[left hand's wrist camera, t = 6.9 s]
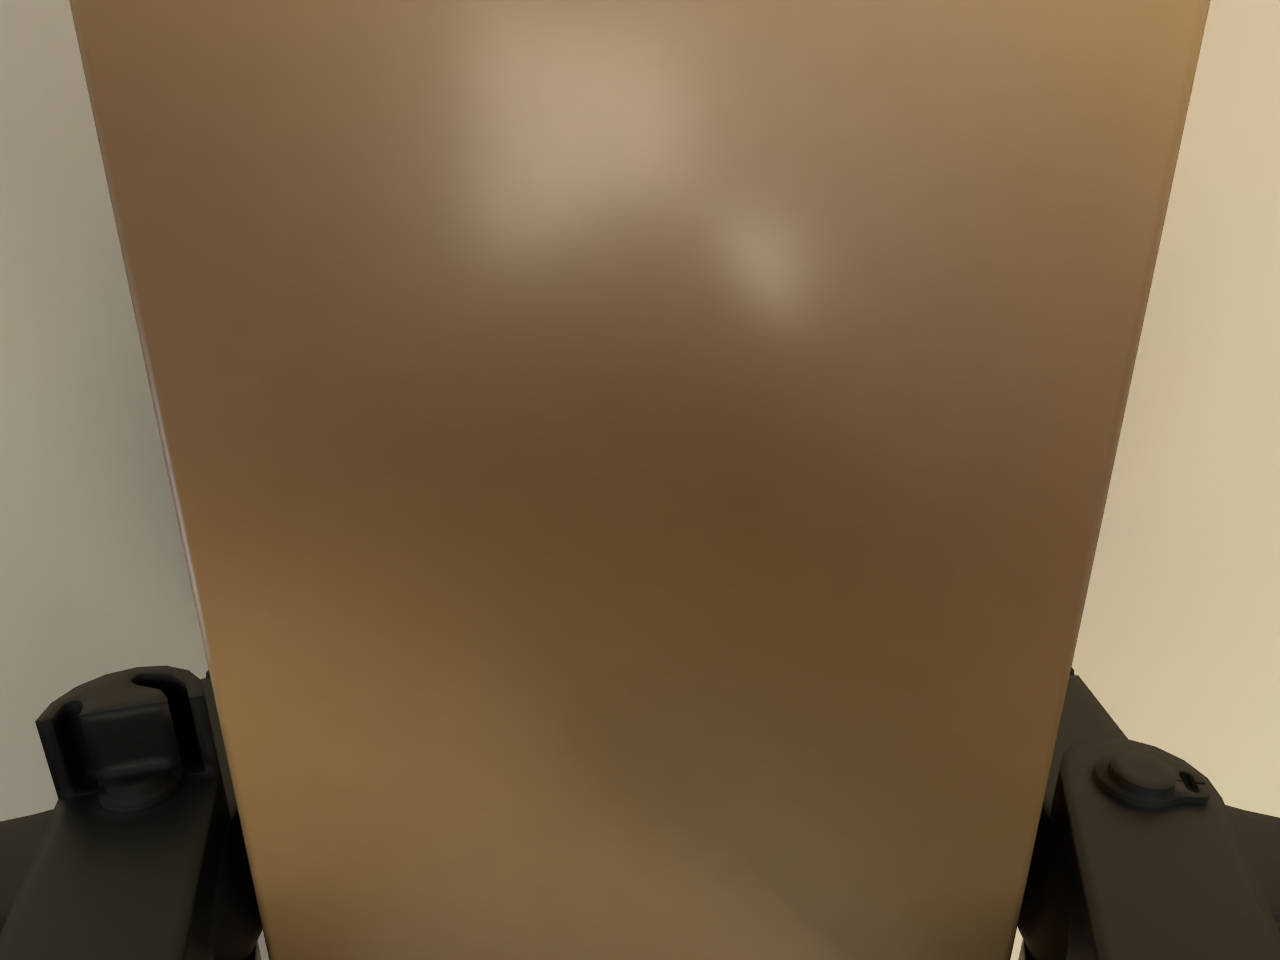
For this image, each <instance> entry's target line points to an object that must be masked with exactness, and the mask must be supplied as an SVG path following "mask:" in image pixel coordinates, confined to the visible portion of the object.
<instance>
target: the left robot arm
mask: <svg viewBox="0 0 1280 960" xmlns="http://www.w3.org/2000/svg"><path fill="white" fill-rule="evenodd" d="M35 723H36V726H37V729H38V732H39V736H40V739H41V742H42V746H43V749H44V752H45V756H46V759H47V762H48V766H49V769H50V772H51V776H52V779H53V782H54V786H55V789H56V792H57V796H58V801H57V804H56V806H55V808H54V809H53V810H49V811H45V812H42V813H38V814H34V815H29V816H25V817H20V818H15V819H11V820H6V821H1V822H0V960H261V955H260V950H259V946H258V941H257V940H258V938H259V936H260V934H261V932H262V930H263V927H262V923H261V918H260V913H259V908H258V903H257V899H256V894H255V889H254V884H253V879H252V875H251V870H250V865H249V860H248V855H247V851H246V846H245V841H244V836H243V831H242V827H241V822H240V817H239V812H238V807H237V803H236V798H235V793H234V788H233V783H232V779H231V774H230V769H229V764H228V759H227V755H226V750H225V745H224V740H223V735H222V731H221V726H220V721H219V716H218V711H217V707H216V702H215V697H214V692H213V687H212V682H211V678H210V673H209V670H208V671H207V673H206V679H201V680H200V679H199V678H198V677H196V676H195V675H194V674H193V673H191V672H190V671H189V670H184V669H179V668H174V667H170V666H151V667H136V668H132V669H127V670H123V671H119V672H115V673H110V674H106V675H104V676H101V677H99V678H96V679H94V680H92V681H89V682H87V683H84V684H82V685H79V686H77V687H75V688H73V689H72V690H70V691H69V692H67V693H66V694H64V695H63V696H61V697H60V698H58V699H57V700H55V701H54V702H52V703H51V704H50V705H49V706H48V707H47V708H46V710H45V711H44V712H43V713H42V714H41V715H40V717H39V718H38V719H37V720H36V721H35ZM1017 926H1018V928H1019V931H1020V933H1021V935H1022V937H1023V941H1022V946H1021V950H1020V955H1019V960H1280V818H1278V817H1274V816H1269V815H1264V814H1259V813H1255V812H1250V811H1245V810H1241V809H1238V808H1234V807H1231V806H1227V805H1225V804H1224V802H1223V800H1222V798H1221V796H1220V795H1219V793H1218V792H1217V791H1216V789H1215V788H1214V786H1213V785H1212V784H1211V782H1210V781H1209V780H1208V778H1207V777H1205V776H1204V775H1203V774H1201V773H1200V772H1199V771H1197V770H1196V769H1195V768H1193V767H1192V766H1191V765H1189V764H1188V763H1187V762H1186V761H1184V760H1182V759H1180V758H1178V757H1176V756H1174V755H1172V754H1170V753H1167V752H1165V751H1163V750H1161V749H1159V748H1157V747H1155V746H1151V745H1147V744H1143V743H1139V742H1136V741H1132V740H1128V739H1127V737H1126V736H1125V735H1124V733H1123V732H1122V731H1121V730H1120V728H1119V727H1118V726H1117V724H1116V723H1115V722H1114V721H1113V719H1112V718H1111V717H1110V716H1109V714H1108V713H1107V712H1106V710H1105V709H1104V708H1103V707H1102V705H1101V704H1100V703H1099V701H1098V700H1097V699H1096V698H1095V696H1094V695H1093V694H1092V693H1091V691H1090V690H1089V689H1088V687H1087V686H1086V685H1085V684H1084V682H1083V681H1082V680H1081V678H1080V677H1079V676H1078V675H1074V669H1073V668H1072V667H1071V671H1070V676H1069V680H1068V685H1067V690H1066V695H1065V699H1064V704H1063V709H1062V714H1061V719H1060V723H1059V728H1058V733H1057V738H1056V743H1055V747H1054V752H1053V757H1052V762H1051V767H1050V771H1049V776H1048V781H1047V786H1046V791H1045V795H1044V800H1043V805H1042V810H1041V814H1040V819H1039V824H1038V829H1037V834H1036V838H1035V843H1034V848H1033V853H1032V858H1031V862H1030V867H1029V872H1028V877H1027V882H1026V886H1025V891H1024V896H1023V901H1022V906H1021V910H1020V915H1019V920H1018V925H1017Z"/></svg>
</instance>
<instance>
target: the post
mask: <svg viewBox="0 0 1280 960" xmlns="http://www.w3.org/2000/svg"><path fill="white" fill-rule="evenodd" d="M69 1H70V5H71V10H72V15H73V20H74V25H75V29H76V34H77V39H78V44H79V49H80V53H81V58H82V63H83V68H84V73H85V77H86V82H87V87H88V92H89V97H90V101H91V106H92V111H93V116H94V121H95V125H96V130H97V135H98V140H99V145H100V149H101V154H102V159H103V164H104V169H105V173H106V178H107V183H108V188H109V193H110V197H111V202H112V207H113V212H114V217H115V222H116V226H117V231H118V236H119V241H120V246H121V250H122V255H123V260H124V265H125V270H126V274H127V279H128V284H129V289H130V294H131V298H132V303H133V308H134V313H135V318H136V322H137V327H138V332H139V337H140V342H141V346H142V351H143V356H144V361H145V366H146V370H147V375H148V380H149V385H150V390H151V394H152V399H153V404H154V409H155V414H156V418H157V423H158V428H159V433H160V438H161V442H162V447H163V452H164V457H165V462H166V466H167V471H168V476H169V481H170V486H171V490H172V495H173V500H174V505H175V510H176V514H177V519H178V524H179V529H180V534H181V538H182V543H183V548H184V553H185V558H186V562H187V567H188V572H189V577H190V582H191V586H192V591H193V596H194V601H195V606H196V610H197V615H198V620H199V625H200V630H201V634H202V639H203V644H204V649H205V654H206V658H207V663H208V668H209V673H210V678H211V682H212V687H213V692H214V697H215V702H216V707H217V711H218V716H219V721H220V726H221V731H222V735H223V740H224V745H225V750H226V755H227V759H228V764H229V769H230V774H231V779H232V783H233V788H234V793H235V798H236V803H237V807H238V812H239V817H240V822H241V827H242V831H243V836H244V841H245V846H246V851H247V855H248V860H249V865H250V870H251V875H252V879H253V884H254V889H255V894H256V899H257V903H258V908H259V913H260V918H261V923H262V927H263V932H264V937H265V942H266V947H267V951H268V956H269V960H1010V958H1011V953H1012V949H1013V944H1014V939H1015V934H1016V930H1017V925H1018V920H1019V915H1020V910H1021V906H1022V901H1023V896H1024V891H1025V886H1026V882H1027V877H1028V872H1029V867H1030V862H1031V858H1032V853H1033V848H1034V843H1035V838H1036V834H1037V829H1038V824H1039V819H1040V814H1041V810H1042V805H1043V800H1044V795H1045V791H1046V786H1047V781H1048V776H1049V771H1050V767H1051V762H1052V757H1053V752H1054V747H1055V743H1056V738H1057V733H1058V728H1059V723H1060V719H1061V714H1062V709H1063V704H1064V699H1065V695H1066V690H1067V685H1068V680H1069V676H1070V671H1071V666H1072V661H1073V656H1074V652H1075V647H1076V642H1077V637H1078V632H1079V628H1080V623H1081V618H1082V613H1083V608H1084V604H1085V599H1086V594H1087V589H1088V584H1089V580H1090V575H1091V570H1092V565H1093V560H1094V556H1095V551H1096V546H1097V541H1098V537H1099V532H1100V527H1101V522H1102V517H1103V513H1104V508H1105V503H1106V498H1107V493H1108V489H1109V484H1110V479H1111V474H1112V469H1113V465H1114V460H1115V455H1116V450H1117V445H1118V441H1119V436H1120V431H1121V426H1122V422H1123V417H1124V412H1125V407H1126V402H1127V398H1128V393H1129V388H1130V383H1131V378H1132V374H1133V369H1134V364H1135V359H1136V354H1137V350H1138V345H1139V340H1140V335H1141V330H1142V326H1143V321H1144V316H1145V311H1146V306H1147V302H1148V297H1149V292H1150V287H1151V283H1152V278H1153V273H1154V268H1155V263H1156V259H1157V254H1158V249H1159V244H1160V239H1161V235H1162V230H1163V225H1164V220H1165V215H1166V211H1167V206H1168V201H1169V196H1170V191H1171V187H1172V182H1173V177H1174V172H1175V167H1176V163H1177V158H1178V153H1179V148H1180V144H1181V139H1182V134H1183V129H1184V124H1185V120H1186V115H1187V110H1188V105H1189V100H1190V96H1191V91H1192V86H1193V81H1194V76H1195V72H1196V67H1197V62H1198V57H1199V52H1200V48H1201V43H1202V38H1203V33H1204V29H1205V24H1206V19H1207V14H1208V9H1209V5H1210V0H69Z"/></svg>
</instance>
